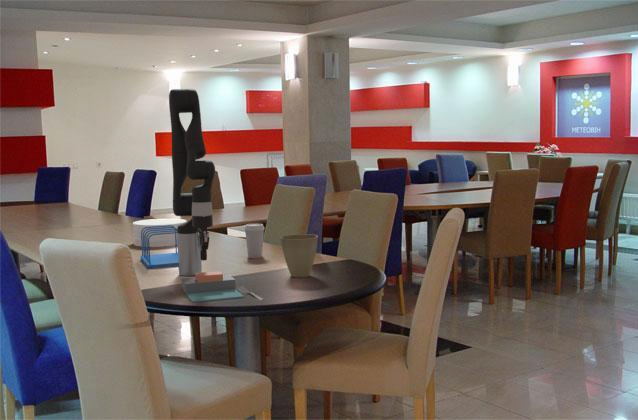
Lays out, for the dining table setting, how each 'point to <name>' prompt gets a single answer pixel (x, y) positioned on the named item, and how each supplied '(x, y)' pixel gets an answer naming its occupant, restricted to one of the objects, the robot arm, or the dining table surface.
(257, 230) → the coffee cup
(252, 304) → the dining table surface
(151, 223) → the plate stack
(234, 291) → the mat
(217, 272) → the tile
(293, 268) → the plant pot
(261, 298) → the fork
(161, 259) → the file sorter
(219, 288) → the panel
